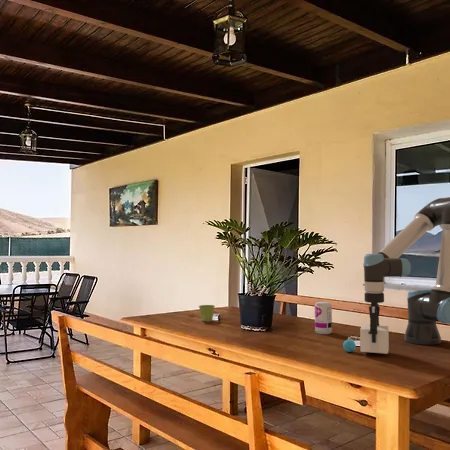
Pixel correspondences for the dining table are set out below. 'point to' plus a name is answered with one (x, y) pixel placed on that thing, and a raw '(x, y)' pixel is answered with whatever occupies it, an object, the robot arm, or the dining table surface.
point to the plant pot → (206, 312)
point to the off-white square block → (382, 339)
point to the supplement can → (323, 317)
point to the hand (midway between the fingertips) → (375, 347)
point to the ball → (349, 345)
